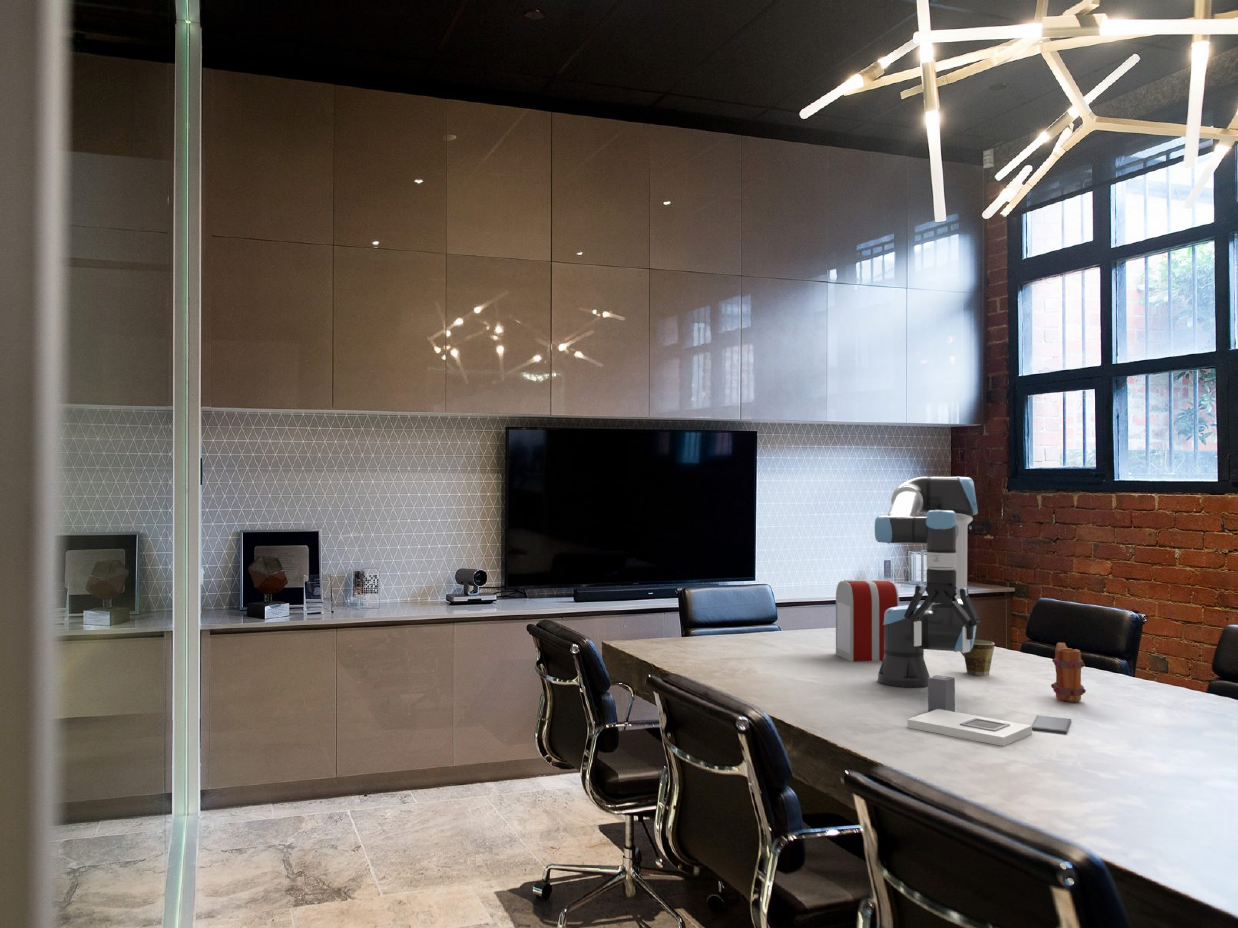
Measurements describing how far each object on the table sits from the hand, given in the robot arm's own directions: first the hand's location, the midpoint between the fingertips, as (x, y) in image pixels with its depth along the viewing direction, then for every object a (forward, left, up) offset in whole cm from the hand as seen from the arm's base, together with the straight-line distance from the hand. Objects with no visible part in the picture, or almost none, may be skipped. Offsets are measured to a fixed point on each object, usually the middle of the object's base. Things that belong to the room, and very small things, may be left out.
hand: (941, 648), depth 252 cm
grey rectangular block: (0, 0, -17) cm, 17 cm away
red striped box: (-58, +60, -17) cm, 85 cm away
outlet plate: (+14, -14, -17) cm, 26 cm away
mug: (+17, +41, -17) cm, 48 cm away
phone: (+26, +6, -17) cm, 32 cm away
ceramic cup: (-19, +60, -17) cm, 65 cm away
